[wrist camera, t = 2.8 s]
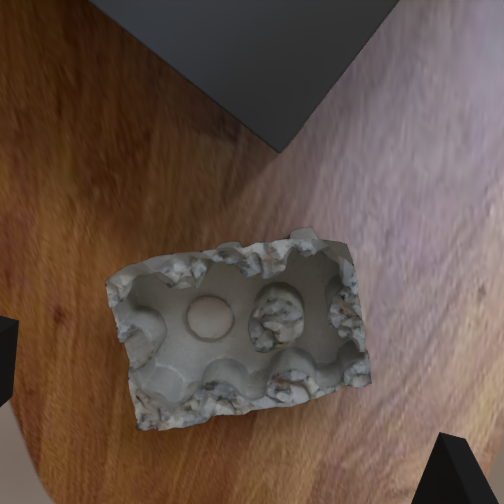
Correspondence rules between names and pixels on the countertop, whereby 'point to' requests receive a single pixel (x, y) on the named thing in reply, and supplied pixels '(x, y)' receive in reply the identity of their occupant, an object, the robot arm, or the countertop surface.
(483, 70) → the countertop surface
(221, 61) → the shelf
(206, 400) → the egg carton
